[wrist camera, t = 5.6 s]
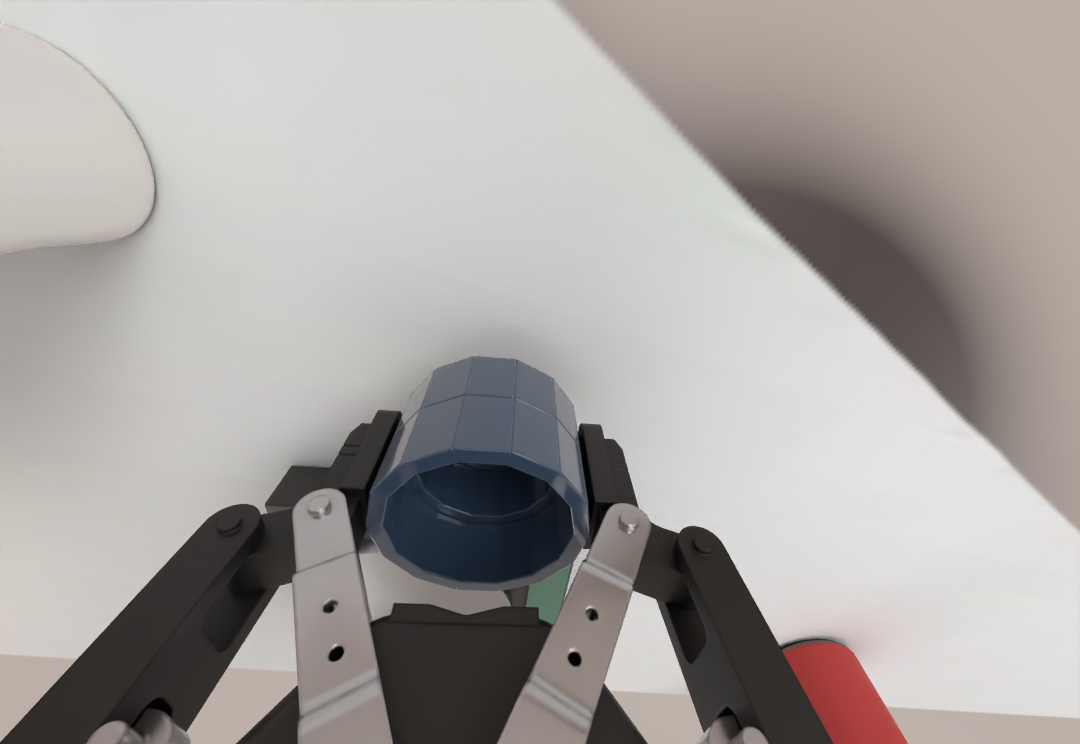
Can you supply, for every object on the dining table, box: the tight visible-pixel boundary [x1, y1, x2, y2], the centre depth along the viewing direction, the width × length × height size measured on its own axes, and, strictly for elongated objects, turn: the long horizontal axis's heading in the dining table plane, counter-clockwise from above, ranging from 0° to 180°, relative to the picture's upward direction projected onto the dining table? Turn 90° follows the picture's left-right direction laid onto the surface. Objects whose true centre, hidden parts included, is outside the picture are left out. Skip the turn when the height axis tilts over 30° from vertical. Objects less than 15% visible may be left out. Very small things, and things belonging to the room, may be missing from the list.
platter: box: [358, 539, 512, 621], centre depth 22 cm, size 11×11×1 cm
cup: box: [365, 356, 591, 591], centre depth 13 cm, size 6×6×5 cm
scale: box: [265, 466, 573, 624], centre depth 23 cm, size 13×15×3 cm
